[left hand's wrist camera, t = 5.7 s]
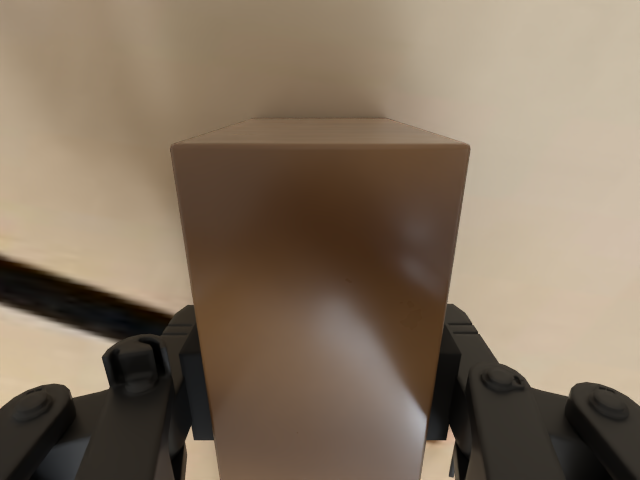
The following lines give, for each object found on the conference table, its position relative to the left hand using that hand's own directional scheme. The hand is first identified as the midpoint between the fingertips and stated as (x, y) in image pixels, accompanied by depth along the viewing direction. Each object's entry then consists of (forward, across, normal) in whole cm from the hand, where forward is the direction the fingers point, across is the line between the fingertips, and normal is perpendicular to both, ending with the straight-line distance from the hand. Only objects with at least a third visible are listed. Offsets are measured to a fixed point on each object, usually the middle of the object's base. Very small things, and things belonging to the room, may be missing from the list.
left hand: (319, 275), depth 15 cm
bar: (+1, 0, -31) cm, 31 cm away
